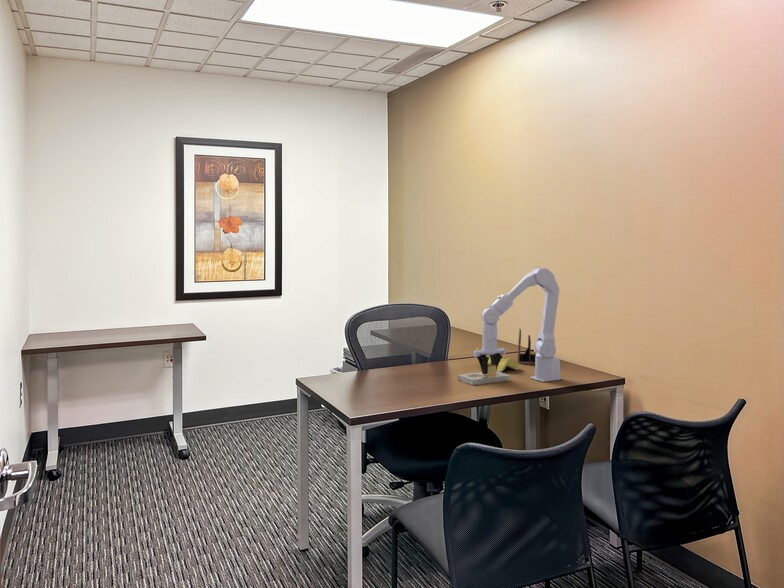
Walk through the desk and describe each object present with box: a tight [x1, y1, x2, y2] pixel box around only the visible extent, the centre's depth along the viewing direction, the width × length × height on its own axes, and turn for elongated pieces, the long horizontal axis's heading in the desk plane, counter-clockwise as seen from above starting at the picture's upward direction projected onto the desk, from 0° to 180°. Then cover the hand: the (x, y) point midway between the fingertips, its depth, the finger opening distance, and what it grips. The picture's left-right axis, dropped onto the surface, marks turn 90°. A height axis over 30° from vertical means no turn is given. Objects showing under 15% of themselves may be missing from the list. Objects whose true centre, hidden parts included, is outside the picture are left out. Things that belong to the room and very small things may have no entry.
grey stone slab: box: [457, 371, 511, 386], centre depth 243 cm, size 18×10×2 cm, turn 118°
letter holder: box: [517, 328, 537, 365], centre depth 284 cm, size 10×20×14 cm, turn 169°
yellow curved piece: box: [475, 347, 520, 373], centre depth 267 cm, size 20×7×10 cm
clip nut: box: [482, 363, 496, 376], centre depth 244 cm, size 4×4×4 cm
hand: (489, 373), depth 244 cm, fingers closed on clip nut, 4 cm apart
